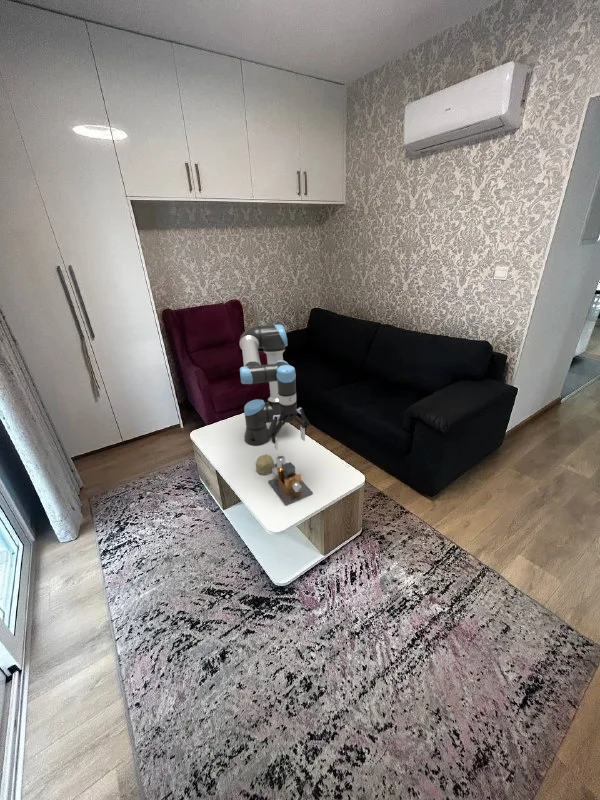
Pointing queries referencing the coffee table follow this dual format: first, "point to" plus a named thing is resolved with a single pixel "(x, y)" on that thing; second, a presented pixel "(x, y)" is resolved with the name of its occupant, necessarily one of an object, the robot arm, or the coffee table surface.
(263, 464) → the decorative object
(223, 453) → the coffee table surface
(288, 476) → the dark gray rectangular block
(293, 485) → the multicoloured piece
